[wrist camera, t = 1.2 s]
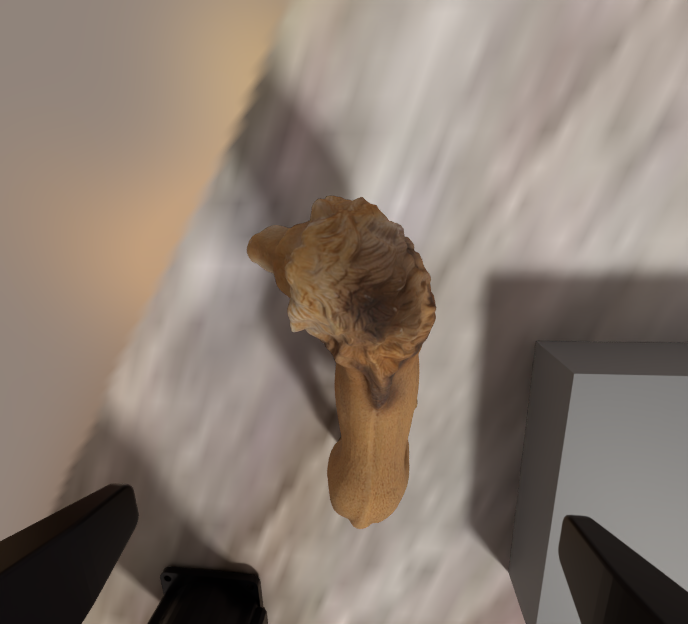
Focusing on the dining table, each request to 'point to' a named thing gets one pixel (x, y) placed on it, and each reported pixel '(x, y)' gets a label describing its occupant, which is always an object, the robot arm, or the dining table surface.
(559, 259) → the dining table surface
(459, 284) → the dining table surface
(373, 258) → the lion figurine
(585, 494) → the grey block
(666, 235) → the dining table surface
